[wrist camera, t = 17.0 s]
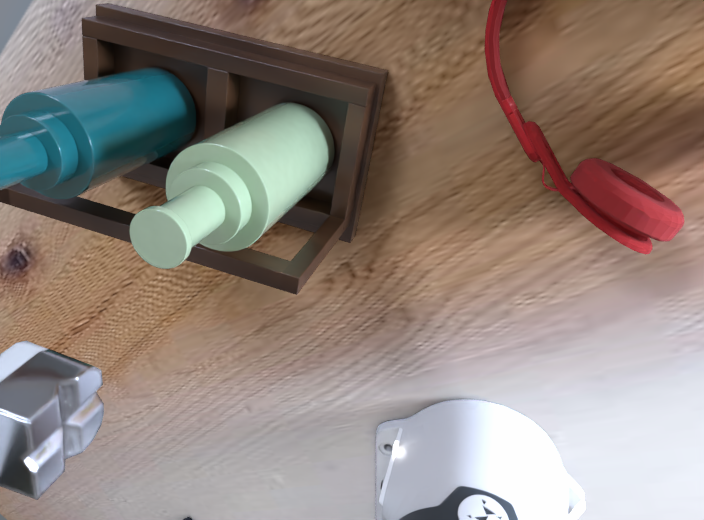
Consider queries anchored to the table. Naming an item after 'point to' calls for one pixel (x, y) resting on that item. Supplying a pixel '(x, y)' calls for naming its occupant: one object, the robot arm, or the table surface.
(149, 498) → the table surface
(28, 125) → the teal bottle
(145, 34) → the rack
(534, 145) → the headphones
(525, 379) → the table surface
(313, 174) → the sage bottle
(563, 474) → the robot arm
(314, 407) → the table surface
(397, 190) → the table surface
